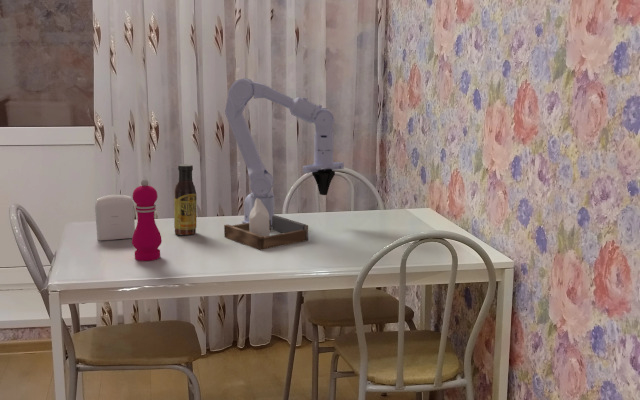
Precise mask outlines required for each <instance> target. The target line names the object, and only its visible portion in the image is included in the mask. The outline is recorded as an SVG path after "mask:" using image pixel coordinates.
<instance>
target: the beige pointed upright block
mask: <svg viewBox="0 0 640 400" xmlns="http://www.w3.org/2000/svg"><path fill="white" fill-rule="evenodd" d="M269 226H270V224H269V213H268V210H267V209H266V207H265V206H264V205H263V203H262V202H261V200H260V199H258V198H256V200H255V203H254V207H253V208H252V210H251V212H250V215H249V229H250V232H252V233H255V234H258V235H261V236H264V237H266V236H271V235H270V234H271V233H270V232H271V230H270V227H269Z"/></svg>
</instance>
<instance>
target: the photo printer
mask: <svg viewBox="0 0 640 400" xmlns="http://www.w3.org/2000/svg"><path fill="white" fill-rule="evenodd" d="M134 207H135V205H134V200H133V199H132V196H130V195H124V194H109V195H103V196H101V197H98V198H96V202H95V208H94V212H95V226H96V238H97V241H100V242H101V241H113V240H122V239H123V240H125V239H132V237H133V234H134V231H135V229H136V228H135V227H136V226H135V209H134Z"/></svg>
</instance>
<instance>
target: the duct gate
mask: <svg viewBox="0 0 640 400" xmlns="http://www.w3.org/2000/svg"><path fill="white" fill-rule="evenodd" d="M305 225H307V224H306V223H303V222H299V221H296V220H293V219H290V218H286V217H283V216H279V215H276V214H274V216H272V226H271V230H274V231H276V232H280V233H287V232H293V231H298V230H305Z"/></svg>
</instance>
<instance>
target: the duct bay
mask: <svg viewBox="0 0 640 400" xmlns="http://www.w3.org/2000/svg"><path fill="white" fill-rule="evenodd" d="M269 224H270V226H269V227H270V231H271V230H272V226H271V220H269ZM223 229H224V234H223V235H224V238H226V239H229V240H231V241H234V242H237V243H239V244H242V245H245V246H248V247H251V248H254V249H256V250H260V251H263V250H267V249H272V248H278V247H283V246H287V245H292V244H297V243H301V242H306V241H309V225H308V224H306V225H305V230H298V231H293V232H287V233H283V232H281V233H278V234H273V235H270V236H266V237H264V236H261V235H258V234H255V233H252V232H250V229H249V223H238V224H232V225H231V224H224V226H223Z"/></svg>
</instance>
